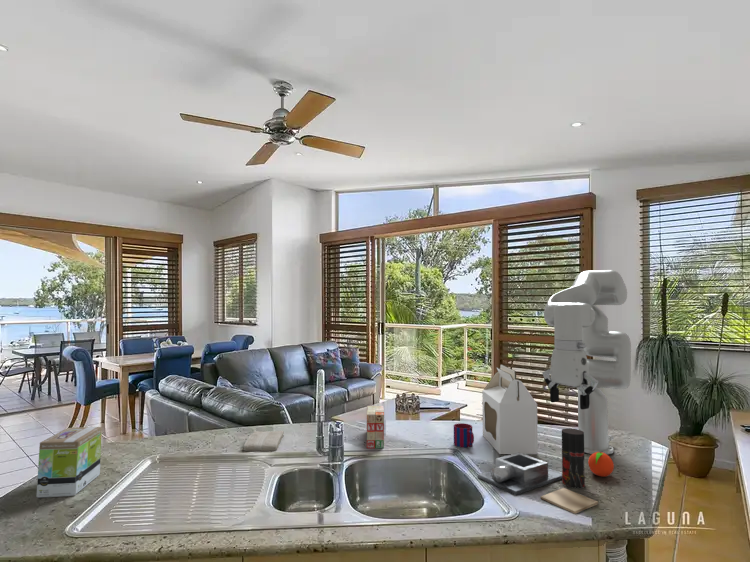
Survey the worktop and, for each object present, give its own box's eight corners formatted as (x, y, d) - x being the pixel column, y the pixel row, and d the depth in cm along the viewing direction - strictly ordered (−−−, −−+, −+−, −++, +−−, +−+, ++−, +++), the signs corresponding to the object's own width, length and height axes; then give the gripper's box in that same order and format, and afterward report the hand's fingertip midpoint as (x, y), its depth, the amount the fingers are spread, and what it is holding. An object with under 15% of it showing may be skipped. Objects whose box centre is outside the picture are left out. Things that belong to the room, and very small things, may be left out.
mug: (467, 441, 167) (467, 422, 168) (479, 450, 158) (479, 430, 158) (450, 442, 166) (450, 423, 166) (462, 451, 156) (462, 431, 156)
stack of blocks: (368, 430, 180) (368, 400, 181) (383, 431, 180) (383, 400, 181) (366, 448, 159) (366, 413, 160) (384, 448, 159) (384, 413, 159)
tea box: (76, 496, 120) (78, 440, 121) (35, 499, 119) (37, 442, 119) (101, 474, 135) (102, 425, 136) (64, 476, 134) (66, 426, 134)
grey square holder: (526, 463, 145) (526, 447, 145) (565, 477, 133) (565, 460, 134) (477, 477, 133) (477, 460, 133) (515, 495, 122) (515, 476, 122)
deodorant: (587, 489, 125) (586, 435, 126) (564, 487, 127) (563, 433, 127) (581, 480, 131) (581, 429, 132) (560, 479, 132) (559, 427, 133)
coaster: (563, 490, 125) (563, 487, 125) (598, 503, 116) (598, 501, 116) (540, 498, 119) (540, 496, 119) (575, 513, 111) (575, 511, 111)
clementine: (609, 483, 129) (608, 458, 130) (583, 477, 134) (583, 453, 134) (616, 475, 135) (616, 451, 135) (592, 469, 140) (592, 446, 140)
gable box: (482, 435, 175) (481, 363, 176) (515, 434, 175) (515, 363, 176) (500, 455, 153) (499, 372, 154) (538, 454, 153) (537, 372, 154)
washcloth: (284, 436, 174) (284, 428, 174) (277, 452, 156) (277, 443, 156) (253, 437, 173) (253, 428, 173) (243, 453, 155) (243, 444, 155)
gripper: (604, 348, 125) (605, 409, 125) (551, 342, 140) (551, 398, 139) (588, 349, 121) (589, 413, 121) (535, 344, 136) (535, 400, 135)
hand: (569, 405), depth 130 cm, fingers open, 9 cm apart
